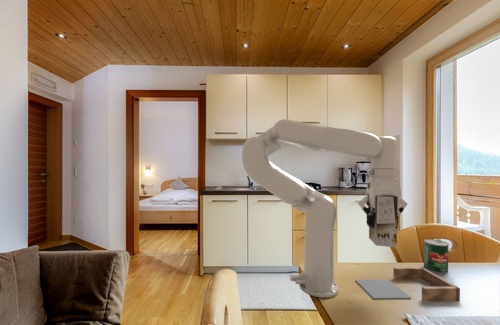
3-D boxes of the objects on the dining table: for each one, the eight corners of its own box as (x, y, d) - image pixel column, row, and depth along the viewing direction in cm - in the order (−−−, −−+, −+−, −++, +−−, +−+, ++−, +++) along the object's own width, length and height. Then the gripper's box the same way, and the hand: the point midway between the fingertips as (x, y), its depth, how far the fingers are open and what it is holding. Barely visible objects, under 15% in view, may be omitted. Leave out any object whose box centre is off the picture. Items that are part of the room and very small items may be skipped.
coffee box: (397, 247, 79) (398, 196, 79) (375, 246, 80) (376, 195, 80) (387, 239, 87) (388, 193, 87) (368, 237, 89) (368, 192, 89)
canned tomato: (437, 274, 95) (437, 246, 95) (418, 266, 103) (419, 239, 103) (453, 272, 97) (453, 244, 97) (434, 264, 105) (434, 238, 105)
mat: (373, 299, 77) (373, 297, 77) (355, 280, 89) (355, 279, 89) (411, 298, 78) (411, 297, 78) (388, 280, 90) (388, 279, 90)
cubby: (424, 301, 76) (424, 288, 76) (393, 278, 92) (393, 267, 92) (459, 301, 77) (459, 288, 77) (422, 278, 92) (423, 267, 92)
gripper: (363, 174, 80) (362, 229, 80) (416, 174, 80) (415, 230, 80) (352, 173, 87) (351, 224, 87) (401, 173, 88) (400, 224, 88)
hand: (382, 226), depth 84 cm, fingers closed on coffee box, 7 cm apart
